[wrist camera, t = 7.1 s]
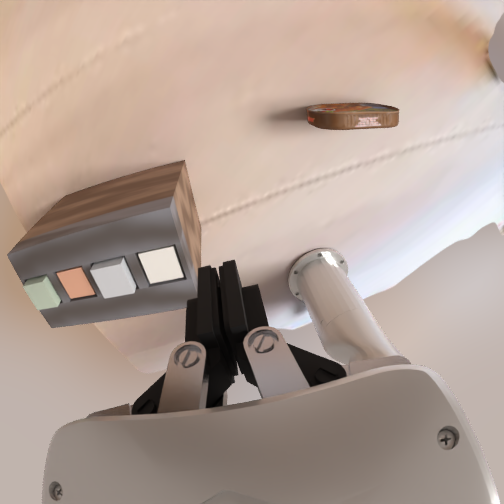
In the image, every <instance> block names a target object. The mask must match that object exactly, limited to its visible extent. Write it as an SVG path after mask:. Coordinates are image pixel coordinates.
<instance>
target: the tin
mask: <svg viewBox="0 0 504 504" xmlns="http://www.w3.org/2000/svg"><path fill="white" fill-rule="evenodd" d="M306 110H307V116H308V123H309V124H311V125H313V126H315V127H317V128H321V129H329V130H350V129H369V128H390V127H395V126H397V125H398V122H399V109H398V108H395V107H392V106H387V105H381V104H374V103H340V104H321V105H314V106H309V107H307V108H306Z"/></svg>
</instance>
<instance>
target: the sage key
mask: <svg viewBox="0 0 504 504" xmlns="http://www.w3.org/2000/svg"><path fill="white" fill-rule="evenodd" d="M23 288H24V289H25V291H26V293H27V294H28V296H29V297H30V299H31V301H32V302H33V304H34V305H35V307H36V308H37V310H42V309H48V308H54V307H58V305H59V303H60V301H61V298H60V297H59V295H58V293H57V292H56V290H55V288H54V287H53V285H52V283H51V281H50V280H49V278H48V276H47V274H45V275H41V276H37V277H33V278H29V279H27V281H26V282H25V284H24V285H23Z"/></svg>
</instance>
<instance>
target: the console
mask: <svg viewBox="0 0 504 504" xmlns="http://www.w3.org/2000/svg"><path fill="white" fill-rule="evenodd" d="M174 244H175V245H176V248H177V252H178V255H179V258H180V261H181V264H182V267H183V270H184V277H182V278H177V279H172V280H167V281H162V282H156V283H151V284H150V282H149V280H148V277H147V275H146V272H145V270H144V268H143V265H142V263H141V260H140V258H139V255H138V253H139V252H142V251H146V250H151V249H155V248H160V247H164V246H169V245H174ZM124 255H125V258H126V260H127V262H128V265H129V267H130V269H131V272H132V274H133V276H134V278H135V280H136V283H137V286H136V289H135V293H133V294H128V295H122V296H117V297H111V298H106V299H105V298H104V297H103V295H102V293H101V291H100V289H99V287H98V285H97V284H96V282H95V280H94V278H93V276H92V274H91V272H90V270H91V268H92V266H93V264H94V262H98V261H103V260H107V259H111V258H115V257H120V256H124ZM8 258H9V260H10V262H11V263H12V265H13V267H14V269H15V271H16V273H17V275H18V276H19V278H20V280H21V282H22V283H23V285H24V284H25V282H26V281H27V279H29V278H33V277H37V276H41V275H45V274H47V276H48V278H49V280H50V281H51V283H52V285H53V287H54V288H55V290H56V292H57V293H58V295H59V297H60V298H61V301H60V303H59V305H58V307H54V308H48V309H42V310H40V312H41V314H42V315H43V316H44V318H45V319H46V321H47V322H48V324H49V325H50V326H51V328H56V327H65V326H73V325H79V324H88V323H95V322H102V321H109V320H116V319H123V318H129V317H136V316H142V315H148V314H154V313H160V312H166V311H172V310H177V309H183V308H187V300H189V299H193V298H197V287H198V268H201V225H200V222H199V218H198V214H197V210H196V206H195V202H194V198H193V193H192V189H191V185H190V181H189V177H188V172H187V168H186V164H185V160H184V161H180V162H176V163H171V164H167V165H164V166H160V167H156V168H152V169H148V170H145V171H141V172H137V173H134V174H130V175H127V176H124V177H120V178H117V179H114V180H111V181H107V182H104V183H101V184H98V185H95V186H92V187H89V188H86V189H83V190H81V191H78V192H75V193H72V194H69V195H67V196H65V197H64V198H63V199H61V200H60V201H59V202H58V203H57V204H56V205H55V206H54V207H53V208H52V209H51V210H50V211H49V212H47V213H46V214H45V215H44V216H43V217H42V218H41V219H40V220H39V221H38V222H37V223H36V224H35V225H34V226H33V227H32V228H31V229H30V230H29V231H28V233H27V234H26V235H25V236H24V237H23V238H22V239H21V240H20V241H19V242H18V243H17V244H16V246H15V247H14V248H13V249H12V250H11V251H10V252H9V253H8ZM77 266H82V267H83V269H84V271H85V273H86V275H87V277H88V279H89V281H90V283H91V285H92V287H93V289H94V290H95V292H96V293H95V294H94V295H88V296H83V297H77V298H72V299H71V298H70V297H69V295H68V293H67V291H66V290H65V288H64V286H63V284H62V283H61V281H60V279H59V277H58V275H57V274H56V273H57V272H58V271H61V270H65V269H69V268H73V267H77Z"/></svg>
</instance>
